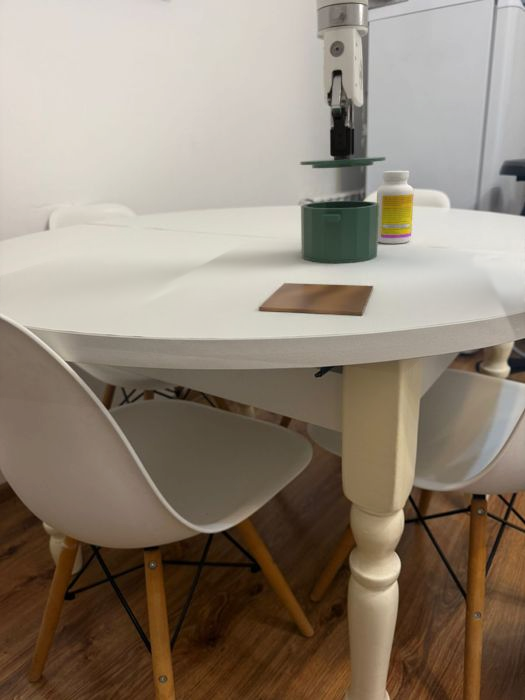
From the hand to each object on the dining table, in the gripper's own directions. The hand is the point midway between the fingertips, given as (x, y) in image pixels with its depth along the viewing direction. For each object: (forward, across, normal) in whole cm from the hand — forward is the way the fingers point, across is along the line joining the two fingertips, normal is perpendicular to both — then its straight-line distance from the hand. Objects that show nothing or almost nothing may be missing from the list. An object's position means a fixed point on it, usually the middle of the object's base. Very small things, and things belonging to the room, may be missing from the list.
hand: (342, 154), depth 86 cm
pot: (+16, 0, +1) cm, 16 cm away
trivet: (+16, -28, -1) cm, 32 cm away
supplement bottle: (+16, +15, -7) cm, 24 cm away
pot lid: (+1, 0, 0) cm, 1 cm away
